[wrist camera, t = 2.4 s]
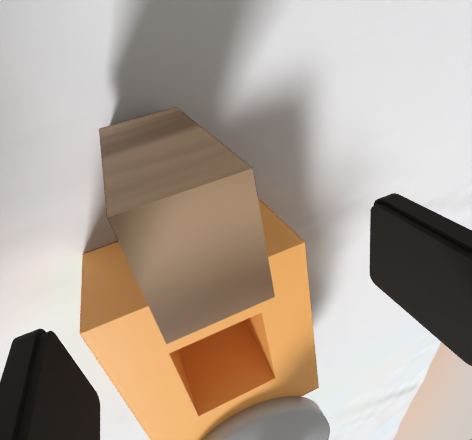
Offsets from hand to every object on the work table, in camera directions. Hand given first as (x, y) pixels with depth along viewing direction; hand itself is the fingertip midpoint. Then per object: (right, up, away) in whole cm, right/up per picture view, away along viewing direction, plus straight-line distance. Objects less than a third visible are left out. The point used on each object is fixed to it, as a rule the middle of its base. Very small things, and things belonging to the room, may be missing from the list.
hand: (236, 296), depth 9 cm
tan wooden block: (-5, +6, +10) cm, 13 cm away
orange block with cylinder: (-2, -8, +19) cm, 21 cm away
